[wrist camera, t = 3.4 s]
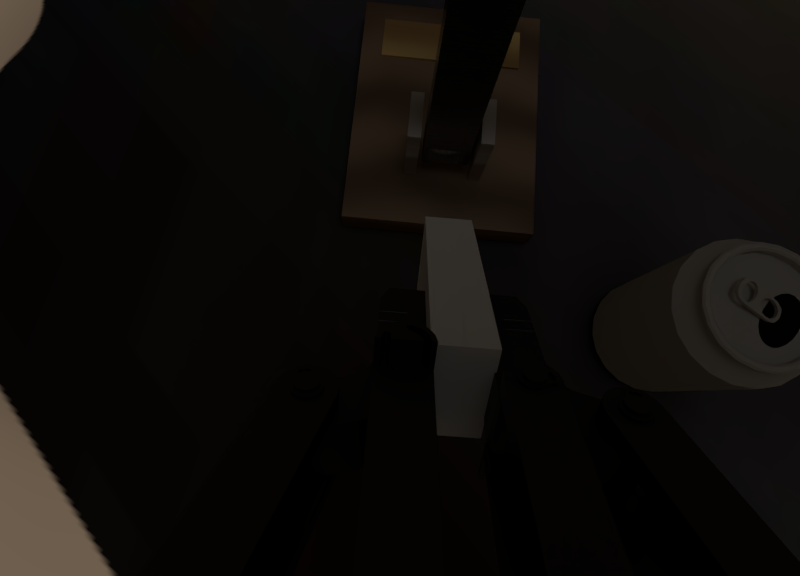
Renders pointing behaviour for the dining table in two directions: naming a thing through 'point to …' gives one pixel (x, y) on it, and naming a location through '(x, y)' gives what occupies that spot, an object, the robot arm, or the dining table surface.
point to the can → (706, 321)
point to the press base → (404, 130)
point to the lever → (466, 74)
